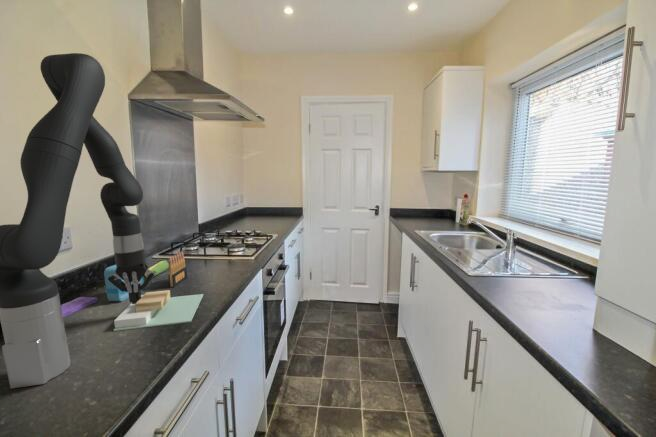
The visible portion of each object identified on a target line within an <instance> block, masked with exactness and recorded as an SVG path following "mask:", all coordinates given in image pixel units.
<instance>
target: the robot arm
mask: <svg viewBox="0 0 656 437" xmlns="http://www.w3.org/2000/svg"><path fill="white" fill-rule="evenodd" d="M39 69H40V73H41V75H42V78H43V81H44V82H45V83H46V86H47V87H48V89H49V90H50V92H51V94H52V95H53V96H54V98H55V101H56V104H55V105H54V106H52V108H51V109H50V110H48V112H47V113H46V114H44V116H42V118H40V120H38V121H37V122H36V123H35V125H34V126H33V127H32V128H31V130H30V131H29V133H28V134H27V137H26V141H25V143H24V147H23V150H22V152H21V157H20V160H19V161H20V170H21V173H22V177H23V180H24V183H25V186H26V191H27V202H26V206H25V209H24V212H23V214H22V218H21V220H20V222H19V223H17V224H14V223H13V224H10V223H9V224H1V225H0V324H1V325H0V326H1V330H2V335H3V340H4V344H3V345H2V346H1V349H2V355H3V360H4V364H5V368H6V373H7V379H8V385H9V388H10V389H18V388H23V387H24V388H26V387H31V386H38V385H45V384H46V383H48V381H50V380H52V379H54V378H56V377H58V376H60V375H61V374H63V373H64V372H65V371H66V370H68V368H69V367H70V366H71V356H70V350H69V345H68V340H67V333H66V328H65V323H64V317H63V316H62V310H61V305H62V304H61V299H60V294H59V293H60V292H59V288H58V282H56V280H54V278H51V277H49V276H47V275H46V274H44V273H43V272H42V269H44V268H45V267H47V266H49V265H50V264H52V263H53V262H54V261H55V259H56V258H57V256H58V254H59V252H60V249H61V247H62V242H63V235H64V228H65V222H66V221H65V220H66V213H67V207H68V202H69V199H70V195H71V191H72V186H73V182H74V179H75V175H76V173H77V170H78V166H79V164H80V159H81V156H82V152H83V147H85V148H86V151H87V153H88V154H89V155H88V156H89V158H90V160H91V162H92V165H93V167H94V169H95V171H96V173H97V174H98V175H99V176H100V177H103V178H107V179H109V180H111V181H112V182H108V183H105V184H103V186H102V187H101V189H100V200H101V204H102V206H103V209H104V210H105V212H106V214H107V217H108V219H109V221H110V223H111V231H112V245H113V246H112V247H113V252H114V262H115V265H116V266H117V268H116V270H115V274H113V275H112V276H110V277H109V278H108V280H109V281H110V282H111V283H112V284H113V285H115V286H116V287H117V288H118V289H119V290H120V291H122V292H124V291H125V292H128V293H129V298H128V299H129V303H132V304H136V303H137V302H138V301H139V300H140V299H141V295H142V291H143V290H145V289H146V288H147V287H148V285H149V284H150V283H151V282H152V280H153V278H154V277H155V274H156V272H155V271H153V272H152V271H151V270H149V269H148V268H149V267H148V265H147V263H146V255H145V243H144V240H143V239H144V238H143V235H142V229H141V221H140V217H139V215H137V214H135V213H133V212H132V213H131V212H129V211H128V210H127V208H126V207H135V206H138V205H140V204H141V202H142V201H143V197H144V191H143V189H142V186H141V184H140V183H139V181H138V180H137V178H136V177H135V176H134V175H133V173H132V171H131V170H130V169H129V168H128V167H127V165H126V163H125V159H124V157H123V155H122V152H121V150H120V148H119V146H118V144H117V142H116V140H115V139H114V137H113V136H112V135H111V134H110V133H109V131H107V129H105V128H104V127H103V125H102V124H101V123H100V122H99V121H98V119H96V117H94V113H95V111H96V108H97V106H98V104H99V102H100V99H101V97H102V95H103V92H104V89H105V85H106V75H105V72H104V69H103V66H102V65H101V63H100V62H99V61H98V60H97V59H96V58H95V57H93V56H92V55H89V54H86V53H78V52H73V53H61V54H60V53H58V54H51V55H46V56H44V57H43V59H42V60H41V62H40V68H39ZM145 273H146V277H147V278H146V280H145V281H144V283H143V284H142V285H141V279H142V277H143V276H144V274H145ZM120 278H121V279H122V280H124V282H125V283H124V282H123V281H122V280H121V279H120ZM141 290H142V291H141Z"/></svg>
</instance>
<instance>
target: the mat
mask: <svg viewBox="0 0 656 437" xmlns="http://www.w3.org/2000/svg"><path fill="white" fill-rule="evenodd" d="M203 296H204V293H201V294H190V295H189V294H188V295H180V296H179V295H178V296H172V297H170V299H169V300H168V302H167V303H166V304H165V306H164V307H163V308H162V309H159V310H157V311H156V313H155V314H154V315H153V317H152V318H151V319H150V320H149V322H148V323H147V324H146V325H137V326H129V327H120V328H115V327H114V329H113V332H119V331H127V330H135V329H144V328H150V327H151V328H152V327H160V326H169V325H177V324H184V323H192V320H193V318H194V316H195V313H196V311H197V310H198V307H199V305H200V303H201V301H202V299H203Z"/></svg>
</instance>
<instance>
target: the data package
mask: <svg viewBox="0 0 656 437" xmlns="http://www.w3.org/2000/svg"><path fill="white" fill-rule="evenodd" d="M116 268H117V266H116V264H113V265H110V266H108V267H106V268H105V269H104V270H103V271H104V272H103V275H104V276H103V277H104V283H105V291H106V296H107V297H106V298H107V300H108V301H109V302H124V301H126V300H128V299H129V293H128V292H125V291H124V292H122V291H120V290H119V289H118V288H117V287H116V286H115V285H113V284H112V283H111V282H110V281H109V280H108V278H109V277H110V276H112V275H113V274H115V270H116ZM120 279H121V278H120ZM121 280H122V279H121ZM122 281H123V282H124V280H122ZM124 283H125V282H124ZM143 283H144V280H143V277H142V279H141V285H142V284H143ZM142 291H143V290H141V292H142Z"/></svg>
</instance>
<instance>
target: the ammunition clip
mask: <svg viewBox="0 0 656 437" xmlns="http://www.w3.org/2000/svg"><path fill="white" fill-rule="evenodd" d="M168 264H169V267H168V285H169V286H168V287H169V288H174V289H175V288H176V287H177V286H178V285H180V284H181V283H183V282H184V281H185V280H187V279H188V278H189V277H188V271H187V270H188V268H187V266H186V260H185V256H184V252H183V250H181V251H179V252H178V253H176V254H174V255H171V256H169V257H168Z"/></svg>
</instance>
